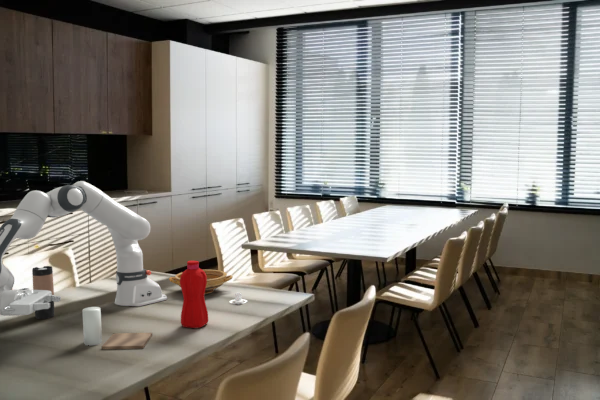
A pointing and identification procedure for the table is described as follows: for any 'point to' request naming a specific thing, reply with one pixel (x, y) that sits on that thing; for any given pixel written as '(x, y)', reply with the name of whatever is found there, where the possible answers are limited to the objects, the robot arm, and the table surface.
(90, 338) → the white rounded block
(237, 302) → the teacup and saucer
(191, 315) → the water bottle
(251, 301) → the table surface
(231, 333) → the table surface
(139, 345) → the walnut coaster
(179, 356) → the table surface
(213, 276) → the wicker basket
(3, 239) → the robot arm
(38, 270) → the travel mug
